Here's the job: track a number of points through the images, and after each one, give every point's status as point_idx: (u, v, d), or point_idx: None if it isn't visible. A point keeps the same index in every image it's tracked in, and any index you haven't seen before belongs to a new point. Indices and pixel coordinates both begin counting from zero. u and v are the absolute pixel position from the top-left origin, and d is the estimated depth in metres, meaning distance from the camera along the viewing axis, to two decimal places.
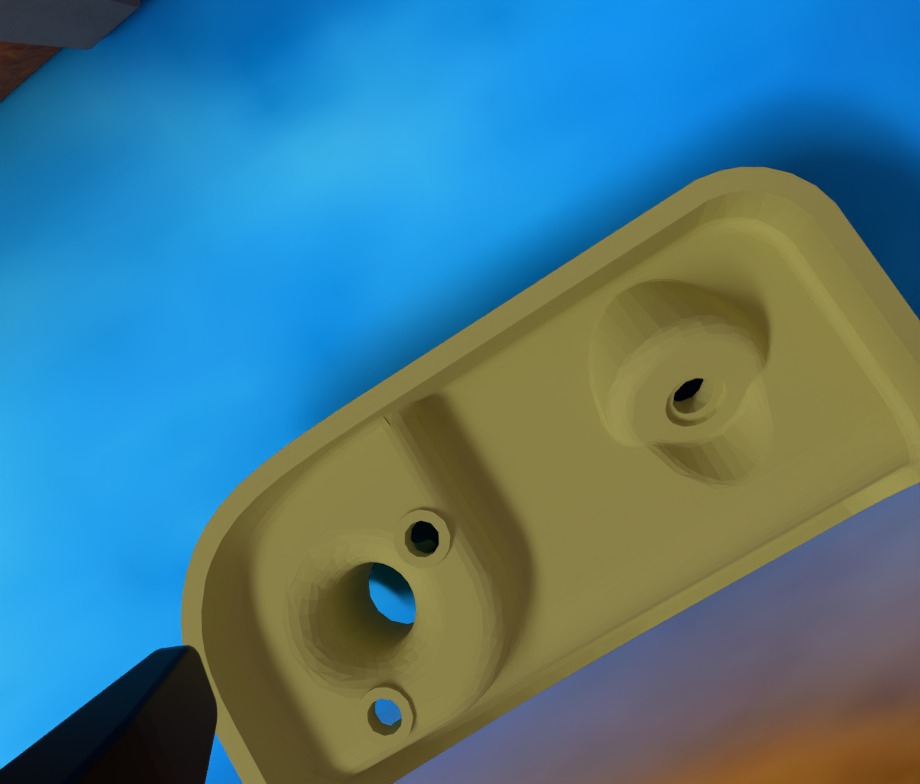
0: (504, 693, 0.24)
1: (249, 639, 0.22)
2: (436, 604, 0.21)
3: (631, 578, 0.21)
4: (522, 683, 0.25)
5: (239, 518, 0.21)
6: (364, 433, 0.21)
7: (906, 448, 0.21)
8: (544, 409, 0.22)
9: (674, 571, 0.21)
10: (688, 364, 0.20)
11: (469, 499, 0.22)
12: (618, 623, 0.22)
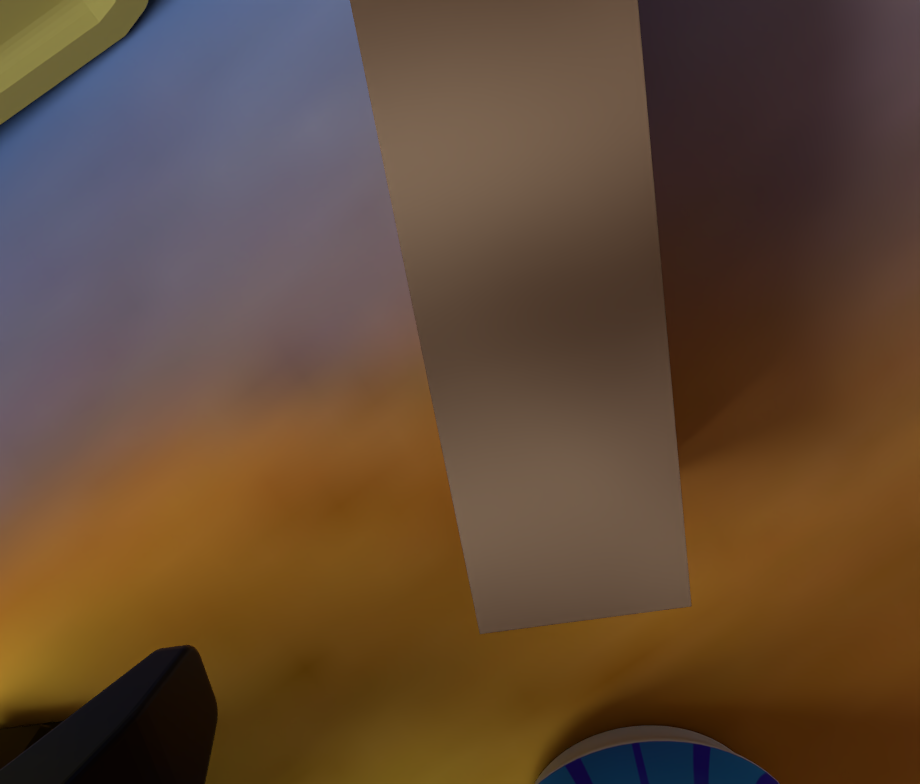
0: None
1: None
2: None
3: None
4: None
5: None
6: None
7: None
8: None
9: None
10: None
11: None
12: None
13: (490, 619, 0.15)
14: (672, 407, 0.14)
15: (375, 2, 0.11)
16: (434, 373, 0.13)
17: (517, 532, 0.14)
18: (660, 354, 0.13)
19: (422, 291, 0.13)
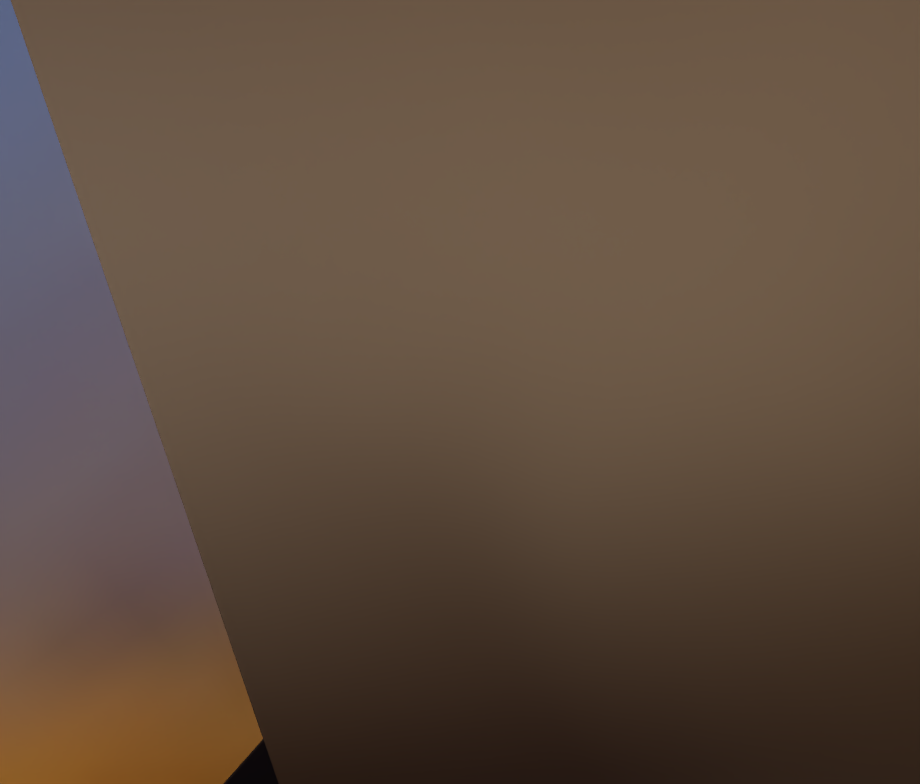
0: None
1: None
2: None
3: None
4: None
5: None
6: None
7: None
8: None
9: None
10: None
11: None
12: None
13: None
14: None
15: None
16: None
17: None
18: None
19: (294, 713, 0.04)
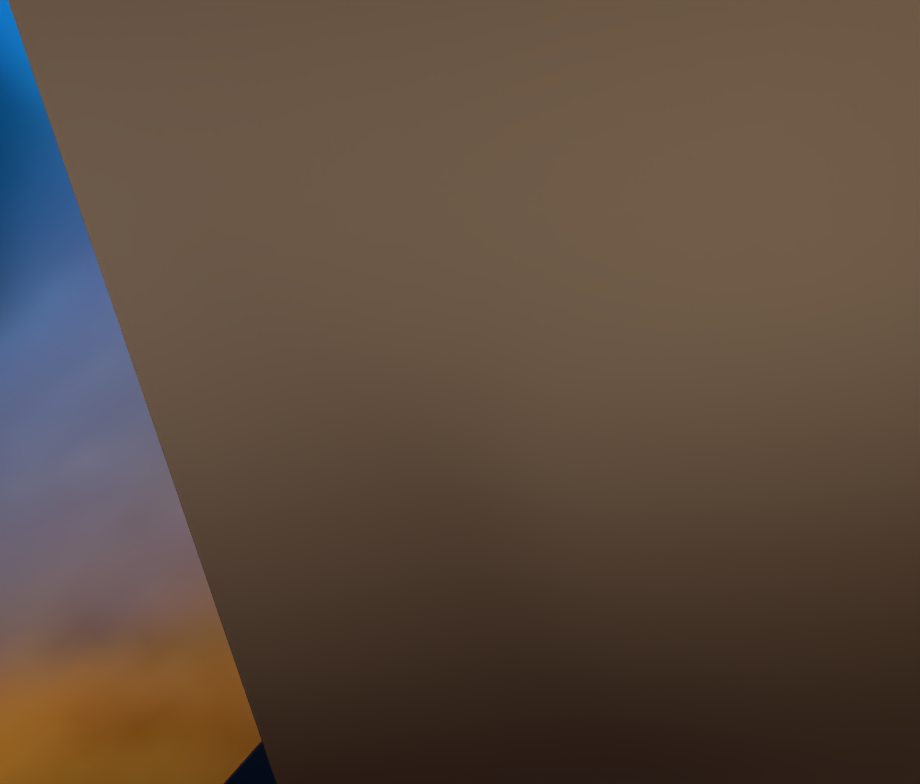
0: None
1: None
2: None
3: None
4: None
5: None
6: None
7: None
8: None
9: None
10: None
11: None
12: None
13: None
14: None
15: None
16: None
17: None
18: None
19: (293, 714, 0.04)
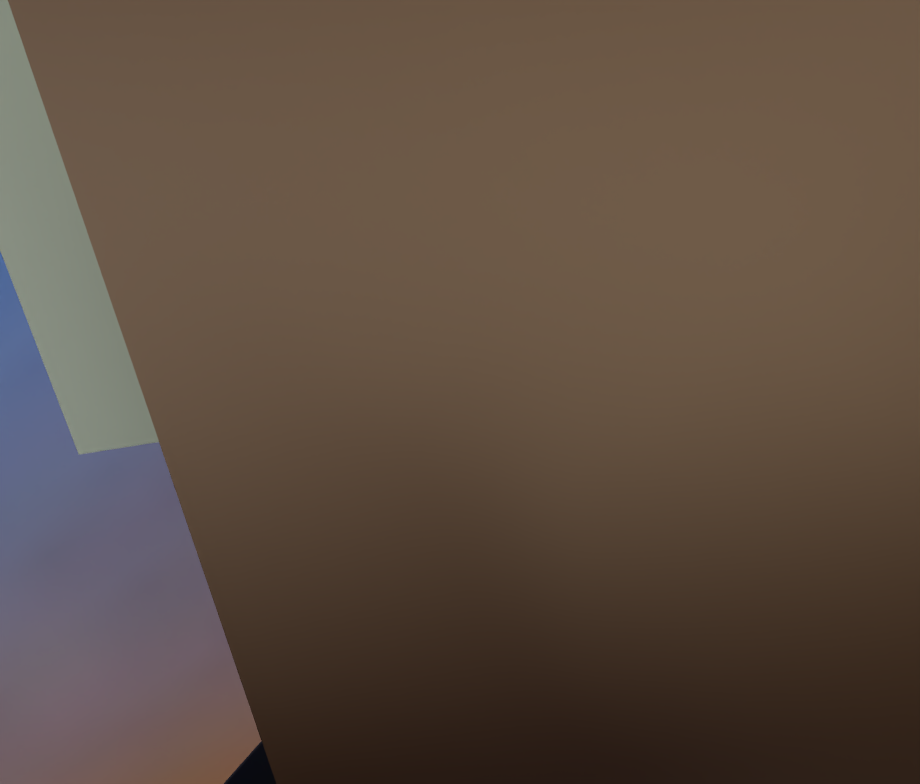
0: None
1: None
2: None
3: None
4: None
5: None
6: None
7: None
8: None
9: None
10: None
11: None
12: None
13: None
14: None
15: None
16: None
17: None
18: None
19: (292, 714, 0.04)
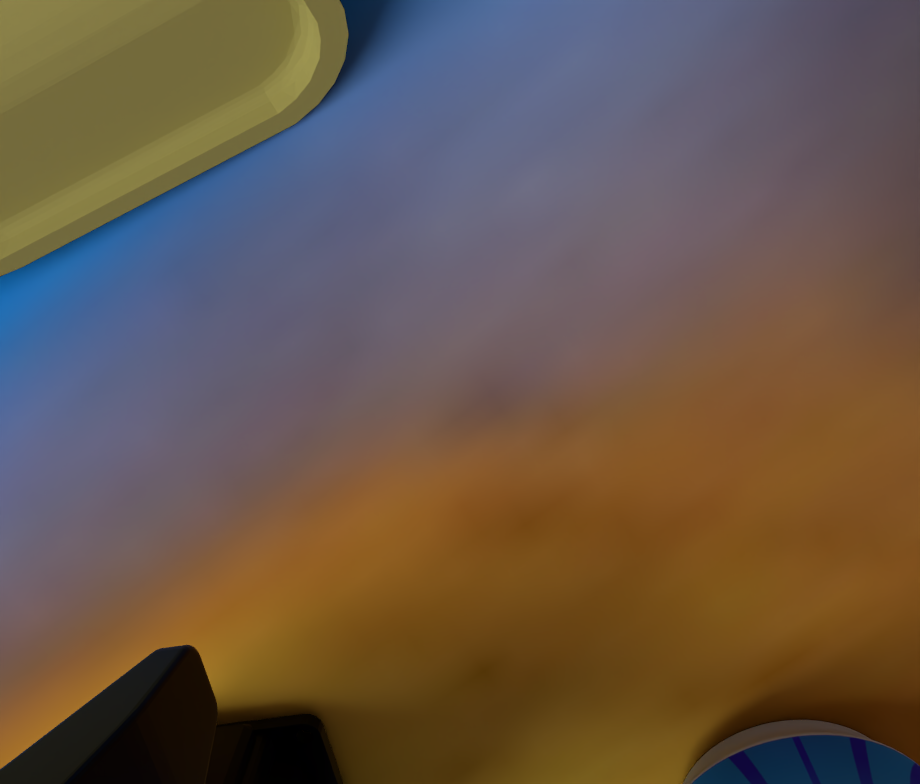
0: None
1: None
2: None
3: None
4: None
5: None
6: None
7: None
8: None
9: None
10: None
11: None
12: None
13: None
14: None
15: None
16: None
17: None
18: None
19: None
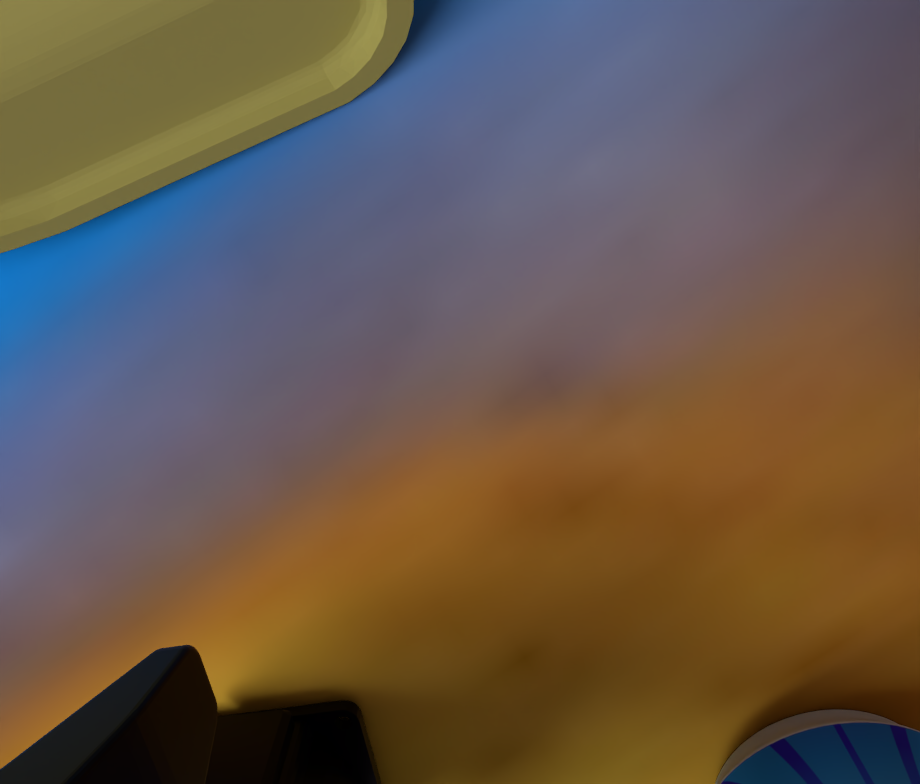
0: None
1: None
2: None
3: None
4: None
5: None
6: None
7: None
8: None
9: None
10: None
11: None
12: None
13: None
14: None
15: None
16: None
17: None
18: None
19: None
